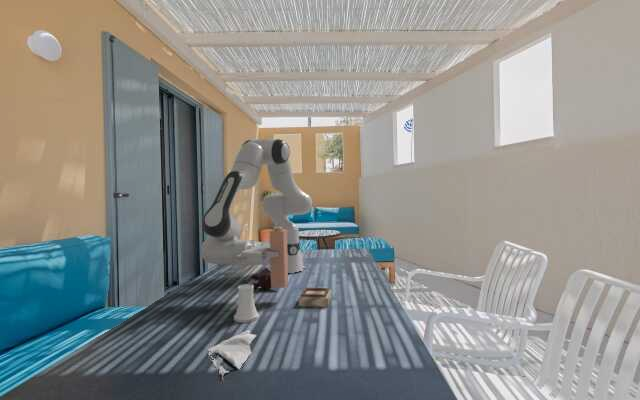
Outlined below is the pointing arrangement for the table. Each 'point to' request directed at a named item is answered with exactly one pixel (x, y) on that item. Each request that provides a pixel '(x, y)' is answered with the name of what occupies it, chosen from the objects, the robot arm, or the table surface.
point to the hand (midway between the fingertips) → (281, 252)
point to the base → (315, 297)
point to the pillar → (279, 258)
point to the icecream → (262, 280)
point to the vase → (246, 305)
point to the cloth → (233, 350)
